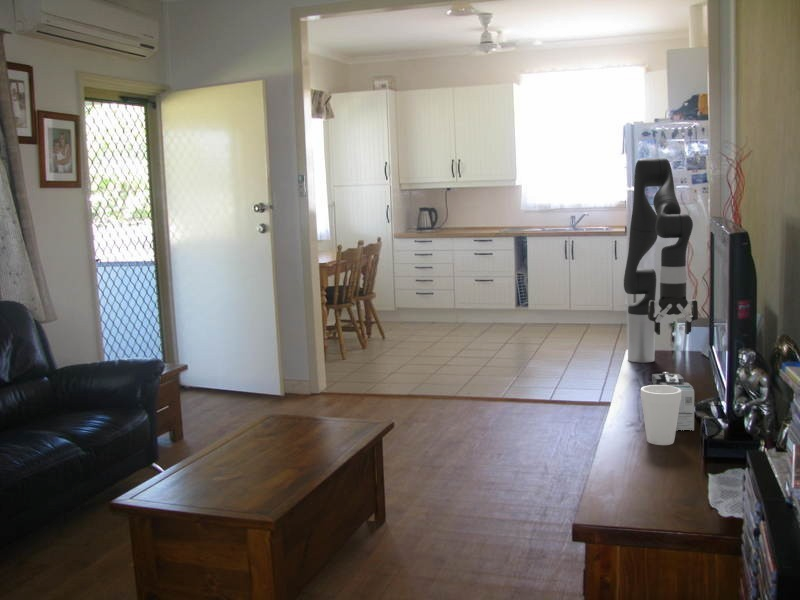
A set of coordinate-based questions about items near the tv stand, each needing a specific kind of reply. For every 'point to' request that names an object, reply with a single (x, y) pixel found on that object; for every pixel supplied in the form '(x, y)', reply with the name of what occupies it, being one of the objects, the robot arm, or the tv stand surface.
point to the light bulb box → (685, 408)
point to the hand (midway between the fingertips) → (672, 334)
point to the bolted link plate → (671, 379)
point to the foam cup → (660, 412)
